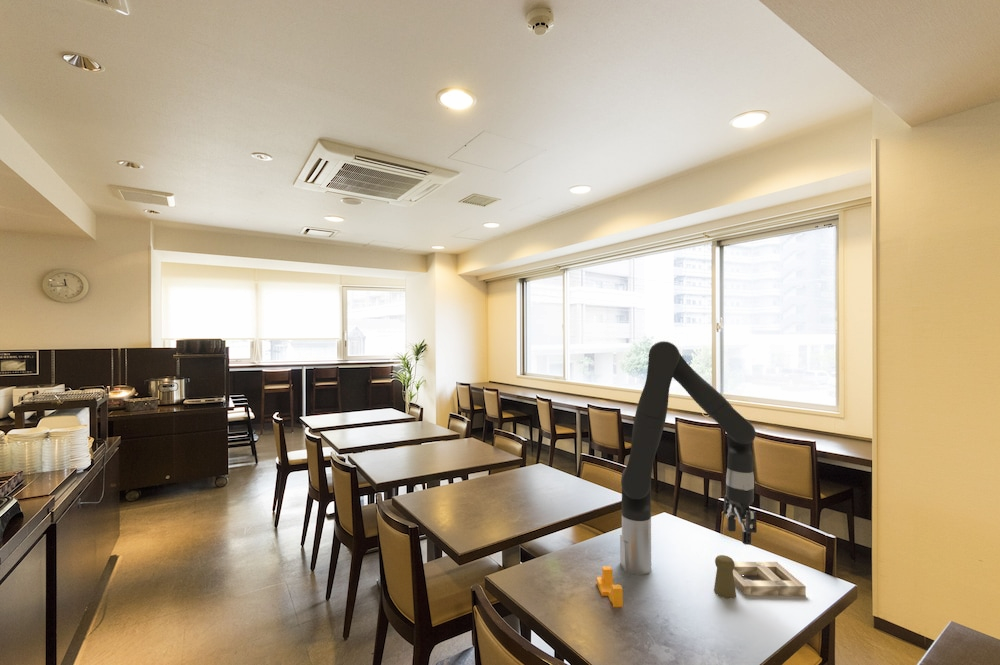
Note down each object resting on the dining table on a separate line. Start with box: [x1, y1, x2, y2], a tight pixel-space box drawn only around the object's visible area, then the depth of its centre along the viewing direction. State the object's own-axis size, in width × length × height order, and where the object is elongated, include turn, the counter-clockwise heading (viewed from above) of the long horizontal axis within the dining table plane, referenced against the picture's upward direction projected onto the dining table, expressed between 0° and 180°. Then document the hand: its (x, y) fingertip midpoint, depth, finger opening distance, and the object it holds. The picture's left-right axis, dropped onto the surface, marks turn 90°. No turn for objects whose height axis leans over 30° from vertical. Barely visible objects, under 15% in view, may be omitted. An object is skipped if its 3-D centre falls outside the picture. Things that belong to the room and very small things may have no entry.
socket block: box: [733, 561, 807, 597], centre depth 139 cm, size 18×14×3 cm
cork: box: [713, 554, 737, 600], centre depth 133 cm, size 6×6×11 cm
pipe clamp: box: [596, 565, 624, 608], centre depth 131 cm, size 12×4×6 cm, turn 2°
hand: (738, 537), depth 137 cm, fingers open, 8 cm apart
